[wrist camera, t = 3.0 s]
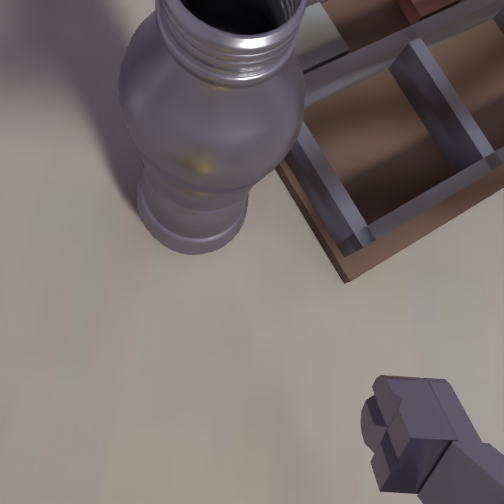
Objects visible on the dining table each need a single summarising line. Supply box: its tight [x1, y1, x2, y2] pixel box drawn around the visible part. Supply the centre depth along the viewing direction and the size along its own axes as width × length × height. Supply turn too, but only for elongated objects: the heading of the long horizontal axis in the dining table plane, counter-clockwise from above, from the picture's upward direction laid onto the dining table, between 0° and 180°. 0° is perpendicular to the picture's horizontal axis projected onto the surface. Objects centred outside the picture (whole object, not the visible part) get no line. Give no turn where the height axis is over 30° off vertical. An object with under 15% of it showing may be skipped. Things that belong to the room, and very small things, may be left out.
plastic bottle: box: [118, 0, 308, 255], centre depth 21 cm, size 6×7×20 cm
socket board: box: [275, 0, 504, 284], centre depth 33 cm, size 18×23×4 cm
